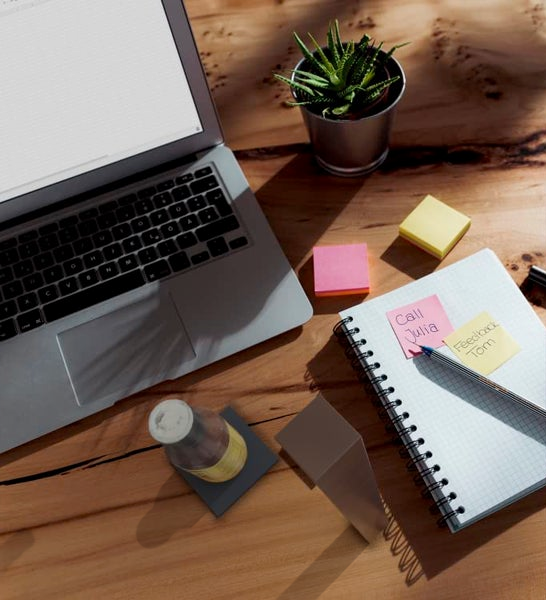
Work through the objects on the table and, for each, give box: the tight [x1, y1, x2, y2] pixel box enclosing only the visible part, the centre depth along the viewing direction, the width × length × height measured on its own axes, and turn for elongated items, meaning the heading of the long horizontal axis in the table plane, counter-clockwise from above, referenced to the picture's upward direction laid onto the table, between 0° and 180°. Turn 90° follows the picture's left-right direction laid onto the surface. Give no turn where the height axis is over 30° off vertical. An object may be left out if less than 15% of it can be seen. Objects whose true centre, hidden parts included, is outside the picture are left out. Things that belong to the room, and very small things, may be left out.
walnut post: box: [273, 393, 390, 544], centre depth 52 cm, size 3×3×46 cm
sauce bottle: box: [147, 398, 248, 482], centre depth 67 cm, size 6×6×20 cm
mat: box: [169, 405, 280, 518], centre depth 76 cm, size 9×9×1 cm
